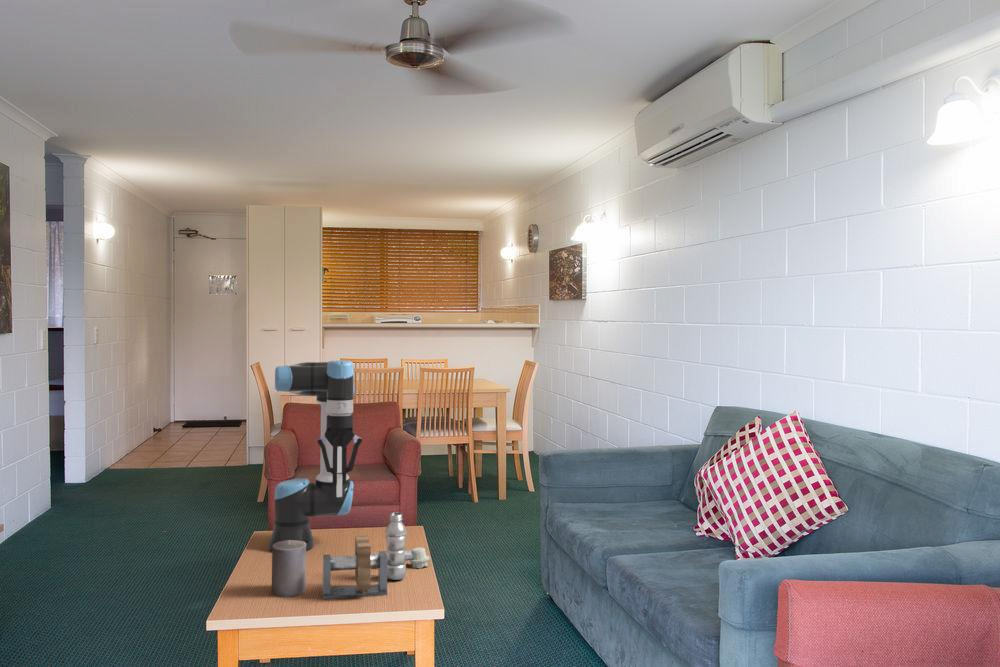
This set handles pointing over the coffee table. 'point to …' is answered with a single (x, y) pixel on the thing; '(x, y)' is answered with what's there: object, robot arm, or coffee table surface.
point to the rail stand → (351, 564)
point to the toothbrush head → (417, 557)
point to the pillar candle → (288, 568)
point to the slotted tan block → (363, 562)
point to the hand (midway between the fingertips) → (339, 495)
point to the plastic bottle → (396, 547)
